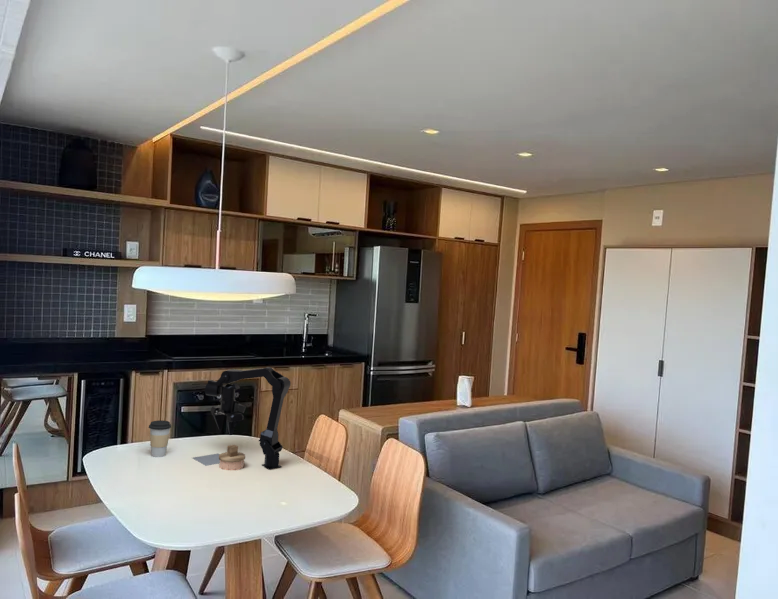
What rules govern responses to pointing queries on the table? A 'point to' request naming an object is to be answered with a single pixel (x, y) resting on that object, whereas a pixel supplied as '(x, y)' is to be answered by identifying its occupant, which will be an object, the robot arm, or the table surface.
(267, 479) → the table surface
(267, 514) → the table surface
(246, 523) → the table surface
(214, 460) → the mat
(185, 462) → the table surface
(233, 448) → the lid
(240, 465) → the bowl
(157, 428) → the coffee cup
